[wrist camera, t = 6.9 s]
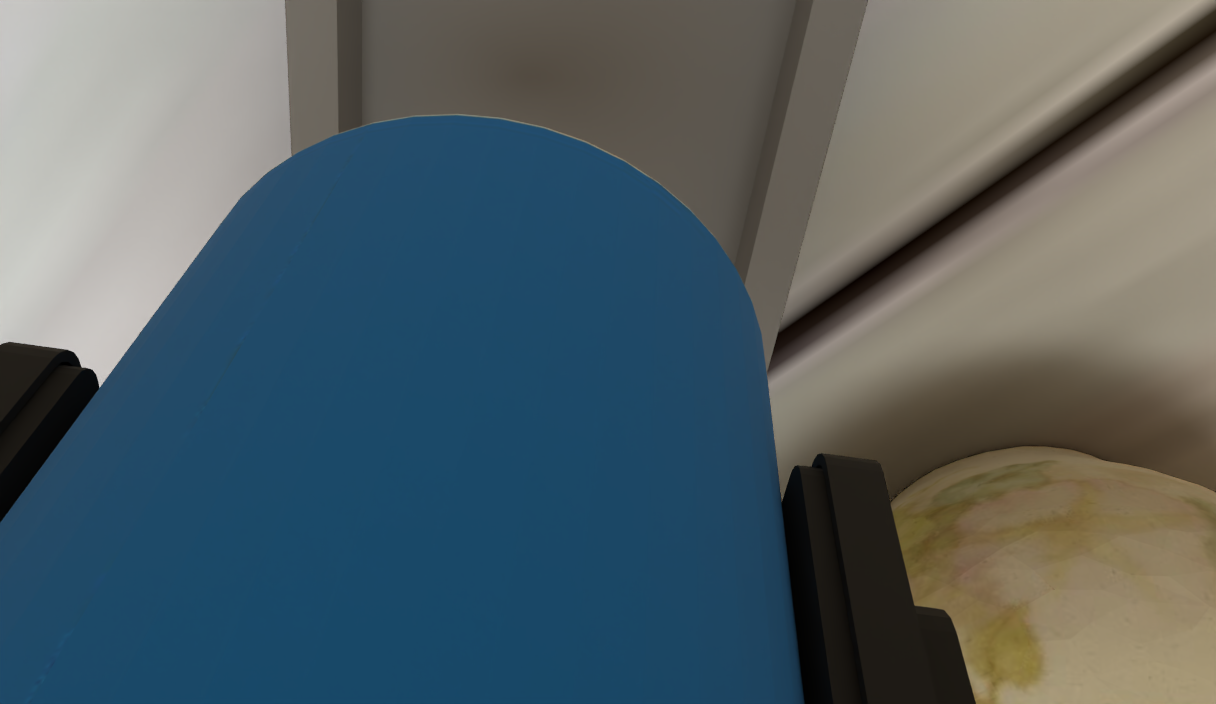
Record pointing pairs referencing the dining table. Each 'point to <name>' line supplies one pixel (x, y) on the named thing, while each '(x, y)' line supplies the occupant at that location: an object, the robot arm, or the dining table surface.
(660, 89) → the tray
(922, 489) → the sugar bowl
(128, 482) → the beverage can
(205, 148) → the dining table surface
